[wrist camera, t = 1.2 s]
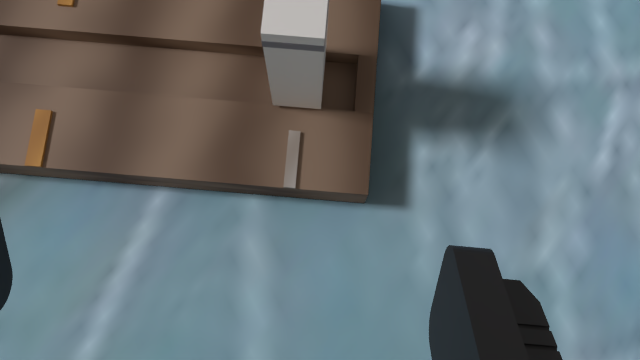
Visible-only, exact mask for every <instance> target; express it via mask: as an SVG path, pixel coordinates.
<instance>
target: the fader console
mask: <svg viewBox="0 0 640 360" xmlns="http://www.w3.org/2000/svg"><path fill="white" fill-rule="evenodd" d="M380 6H381V0H329V11H328V28H327V45H326V57H325V69H324V80H323V92H322V103H321V109H313V108H301V107H289V106H277V105H273V103H272V97H271V91H270V86H269V80H268V74H267V68H266V62H265V56H264V51H263V47H262V43H261V25H262V16H263V7H264V0H0V173H11V174H22V175H34V176H46V177H58V178H70V179H82V180H94V181H106V182H118V183H130V184H141V185H153V186H165V187H177V188H189V189H201V190H213V191H225V192H237V193H248V194H260V195H272V196H284V197H296V198H308V199H320V200H332V201H344V202H356V203H365V201H366V199H367V196H368V189H369V174H370V159H371V144H372V128H373V113H374V98H375V83H376V67H377V52H378V37H379V22H380Z"/></svg>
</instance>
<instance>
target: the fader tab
mask: <svg viewBox="0 0 640 360" xmlns="http://www.w3.org/2000/svg"><path fill="white" fill-rule="evenodd" d="M328 11H329V0H264V7H263V16H262V25H261V43H262V47H263V51H264V56H265V62H266V68H267V74H268V80H269V86H270V91H271V97H272V103H273V105H277V106H289V107H301V108H313V109H321V103H322V92H323V80H324V69H325V57H326V45H327V28H328Z"/></svg>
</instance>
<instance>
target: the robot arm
mask: <svg viewBox="0 0 640 360" xmlns="http://www.w3.org/2000/svg"><path fill="white" fill-rule="evenodd" d="M11 286H12V267H11V262H10V258H9V254H8V249H7V245H6V241H5V236H4V232H3V228H2V224H1V219H0V310H1V309H2V307H3V306H4V304H5V303H6V301H7V299H8V296H9V294H10V290H11ZM429 343H430V350H431V357H432V360H562V357H561V355H560V352H559V351H557V345H556V342H555V339H554V337H553V334H552V332H551V331H549V324H548V322H547V319H546V317H545V314H544V311H543V309H542V306H541V304H540V302H539V301H538V300H537V299H536V297H535V296H534V295H533V294H532V293H531V292H530V291H529V290H528V289H527V288H526V287H525V286H524V284H523V283H522V282H521V281H520V280H509V279H502V276H501V273H500V270H499V267H498V264H497V261H496V258H495V255H494V253H493V251H492V250H491V249H485V248H474V247H463V246H452V245H449V246H448V247H447V249H446V251H445V254H444V258H443V262H442V266H441V270H440V274H439V278H438V282H437V286H436V291H435V295H434V299H433V303H432V307H431V312H430V320H429Z"/></svg>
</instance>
